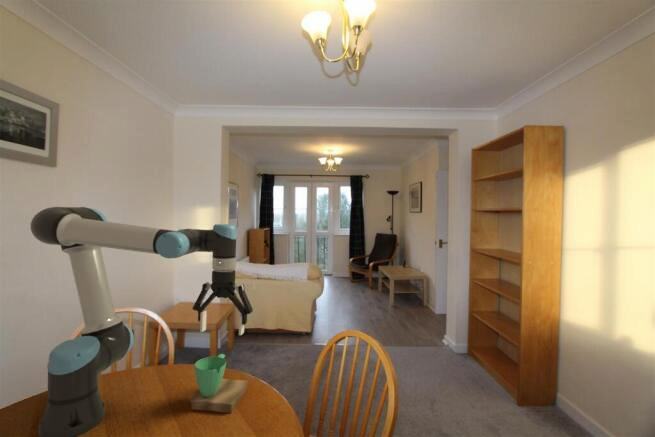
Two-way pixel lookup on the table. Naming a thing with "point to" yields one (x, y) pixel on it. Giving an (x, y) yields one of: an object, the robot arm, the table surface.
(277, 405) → the table surface
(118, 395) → the table surface
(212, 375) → the mug
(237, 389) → the walnut board
